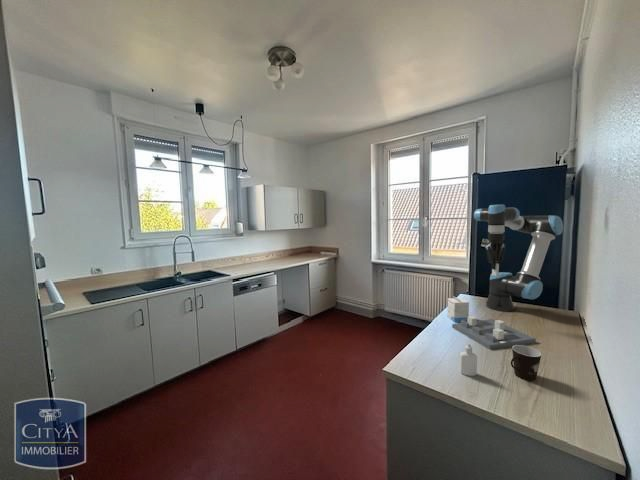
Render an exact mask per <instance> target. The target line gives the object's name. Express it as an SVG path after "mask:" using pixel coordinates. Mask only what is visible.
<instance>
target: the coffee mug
mask: <svg viewBox="0 0 640 480" xmlns="http://www.w3.org/2000/svg"><path fill="white" fill-rule="evenodd" d="M511 350H512V359H511V360H510V366H511V367H512V368H513V370H514V375H515V377H517V378H519V379H520V380H524V381H527V382H535V381H536V380H537V377H538V373H539V367H540V364H541V359H542V353H541V352H540V350H538V349H536V348H533V347H531V346H528V345H524V344H523V345H514V346H511Z"/></svg>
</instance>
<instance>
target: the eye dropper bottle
mask: <svg viewBox="0 0 640 480" xmlns="http://www.w3.org/2000/svg"><path fill="white" fill-rule="evenodd" d="M477 366H478V357H477V354H476V353H473V347H472V346H471V343H470V342H469V343H467V345H465V346H464V351H462V352H460V353H459V373H460V374H461V375H464V376H469V377H473V376H477V371H478V370H477V368H478V367H477Z"/></svg>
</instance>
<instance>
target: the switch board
mask: <svg viewBox="0 0 640 480" xmlns="http://www.w3.org/2000/svg"><path fill="white" fill-rule="evenodd" d="M495 321H496V319H483V320H477V325H476V326H471V325H469V323H467V322H465V321H463V320H461V322H456V323H452V324H451V325H452V326H451V328H452V329H454V330H455V331H458V332H459V333H461V334H462V335H464V336H466V337H468V338H469V339H471V340H472V341H474V342H476V343H478V344H480V345H481V346H483V347H484V348H486V349H488V350H494V349H495V350H496V349H499V348H509V347H512V346H514V345H523V346H524V345H528V344H535V343H536V341H537V338H535V337H533V336H531V335H528V334H526V333H524V332H522V331H519V330H517V329H515V328H513V327H511V326H508V325H507V324H505V330H503V331H504V339H501V340H498V339H496V338H495V337H494V336H493V329H495V328H494V327H495Z"/></svg>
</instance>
